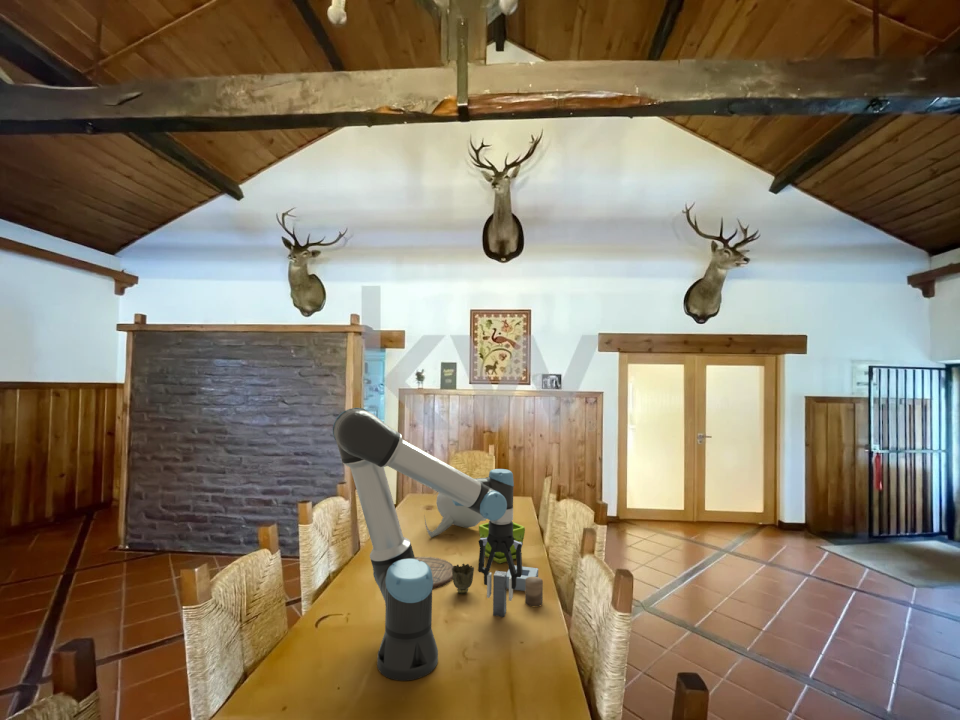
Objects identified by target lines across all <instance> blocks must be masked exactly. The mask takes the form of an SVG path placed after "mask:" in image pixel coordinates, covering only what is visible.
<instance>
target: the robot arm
mask: <svg viewBox="0 0 960 720" xmlns="http://www.w3.org/2000/svg"><path fill="white" fill-rule="evenodd" d="M332 435H333V439H334V441H335V442H336V444H337V448H338V451H339V455H340V459H341V462H342V464H343V465H345V466H346V467H348V468H349V469H350V471H351V476H352V479H353V481H354V486H355V490H356V493H357V497H358V500H359V503H360V507H361V511H362V514H363V517H364V520H365V524H366V527H367V530H368V535H369V537H370V542H371V546H372V549H371V552H370V553H369V558H370V561H371V562H370V563H371V565H372V571H373V572H372V573H373V578H374V581H375V583H376V585H377V586H378V588H379V591H380V593H381V596H382V597H383V600H384V603H385V604H384V605H385V615H384V616H385V621H384V622H385V623H384V626H385V627H384V634H383V637H382V640H381V643H380V645H379V649H378V652H377V657H376V658H377V661H376V664H377V665H376V666H377V667H376V668H377V669H378V671H379V672H380V674H381V675H383V676H384V677H385V678H388V679H391V680H394V681H403V682H404V681H412V680H417V679H419V678H423V677H425V676H427V675H429V674H430V673H432V671H434V670H435V668H436V667H437V665H438V661H439V660H438V659H439V649H438V646H437V641H436V639H435V636H434V633H433V628H432V624H433V623H432V621H433V619H432V615H433V589H434V588H433V578H432V571H431V569H430V567H429V566H428V565H427V564H426V563H425V562H423V561H419V560H417V559H415V557H416V556H415V553H414V549H413V547H412V543H411V540H410V539H409V538H407V537H405V536H404V535H403V532H402V528H401V524H400V520H399V517H398V514H397V510H396V507H395V506H396V505H395V503H394V499H393V495H392V492H391V489H390V484H389V481H388V478H387V474H386V471H385V467H389V468H391V469H393V470H394V471H397V472H398V473H400V474H402V475H404V476H406V477H408V478H409V479H412V480H414V481H416V482H417V483H420V484H421V485H423V486H425V487H427V488H430V489H431V490H433V491H435V492H436V493H438V494H439V493H441V494H442V495H444V496H446V497H448V498H450V499H452V501H453V503H454V505H456V506H466V507H467V508H469V509H471V510H473V511H475V512H477V513H478V514H480V515H482V517H484V518H486V520H488V523H489V534H488V537H487V538H483V537H482V538H479V540H478V546H479V552H478V553H479V555H478V569H477V571H478V572H479V573H481V574H483V585H484V586H486V598H488V599H490V598H491V595H492V584H493V582H492V579H493V577H492V574H493V573H492V572H490V570H491V567H492V563H493V558H494V555H495V552H501V553H504V555H505V557H506V560H507V562H506V563H507V567H508V570H510V574H511V575H510V577H509V589H508V601H509V602H512V600H513V597H514V589H515V587H516V578H517V577H521V575H522V566H523V557H522V555H523V553H522V549H523V546H524V544H523V543H524V542H523V543H522V542H521V541H520V542H517V541H515V540H514V538H513V522H514V521H513V520H514V487H515V485H514V484H515V483H514V474H513V472H512V471H511V470H509V469H505V468H495V469H490V471H489V474H488V476H487V477H479V478H478V477H477V478H475V477H474V478H473V477H471V475H468V474H466V473H464V472H462V471H461V470H459V469H457V468H455V467H453V466H451V465H450V464H448V463H446V462H444V461H443V460H441V459H439V458H438V457H435V456H433V455H432V454H430V453H429V452H426V451H425V450H423V449H421V448H419V447H417V446H416V445H414V444H412V443H410V442H408V441H406V440H404V439H403V437H402V434H401V432H398V431H397V430H395V429H394V428H392V427H390V426H389V425H387V423H385V422H384V421H383V420H381V419H380V418H379V417H378V416H377V415H376V414H374V413H372V412H370V411H369V410H367V409H365V408H362V407H352V408H349V409H346V410H344V411H342V412H341V413H340V414H338V416H337V417H336V419H335V420H334V422H333V425H332ZM487 542H488V543H489V545H490V546H491V548H492V549H491V552H490V555H489V558H488V557H487V558H488V559H487V562H486V563H485V560H486V559H485V557H486V556H485V545H486V544H487ZM512 545H514V546H515V549H516V559H515V560H516V563H514V559H512V555H511V550H510V547H511V546H512ZM521 553H522V554H521ZM515 564H516V565H515ZM514 565H515V566H517V572H516V569H515V566H514Z"/></svg>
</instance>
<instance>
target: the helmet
mask: <svg viewBox="0 0 960 720" xmlns="http://www.w3.org/2000/svg"><path fill="white" fill-rule="evenodd" d="M436 494H437V496H436V507H437V511H438V512H439V514H440V516H441V517H442V519H441V522H440V523H439V524H438V526H437V527H436V528H435V529H434V530H432V531H431V530H429V528H428V526H427V521H426V519H424V524H425V528H426V530H427V531H426V532H427V534H428V535H429V537H430V538H434V537H436V536H439V535H440V534H442V533H443V532H445V531H447V530H448V529H449V528H450V527H451V526H457V527H461V528H467V529H468V528H474V527H476V526H477V525H478V524H479V523H480V522H484V521H487V519H486V518H484V517H482V515H480V514H478V513H477V512H475V511H473V510H471V509H469V508H467V507H466V506H456V505H454V503H453V501H452V499H450V498H448V497H446V496H444V495H442V494H441V493H439V492H438V493H437V492H435V493H434V494H433V496H434V495H436ZM425 515H426V514H424V515H423V516H424V517H426V516H425Z"/></svg>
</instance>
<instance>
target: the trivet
mask: <svg viewBox="0 0 960 720" xmlns="http://www.w3.org/2000/svg"><path fill="white" fill-rule="evenodd" d="M415 559H417V560H419V561H423V562H425V563H426V564H427V565H428V566H429V567H430V569H431V571H432V578H433V588H432V589H435V588H439V587H442V586H444V585H446V584H448V583H450V582H451V581H453V575H452V568H453V566H454V565H453V564H452V563H451V562H450V561H447V560H446V559H442V558H439V557H432V556H415Z"/></svg>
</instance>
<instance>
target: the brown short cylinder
mask: <svg viewBox="0 0 960 720" xmlns="http://www.w3.org/2000/svg"><path fill="white" fill-rule="evenodd" d="M543 582H544V581H543V579H542V578H541V577H539V576H538V577H528V578H526V581H525V591H524V592H525V593H524V594H525V597H524V599H525V600H524V602H525V604H526V605H527V606H529V607H532V606H538V607H540V605H541V606H542V605H543V604H544V603H543V602H544V601H543V594H544V593H543V590H544V589H543V587H544V586H543Z"/></svg>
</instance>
